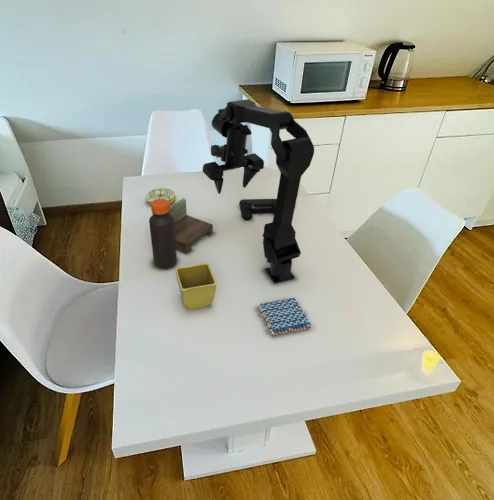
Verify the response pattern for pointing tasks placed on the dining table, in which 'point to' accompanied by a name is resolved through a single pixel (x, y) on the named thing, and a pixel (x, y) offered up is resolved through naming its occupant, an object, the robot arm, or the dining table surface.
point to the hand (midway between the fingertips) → (231, 190)
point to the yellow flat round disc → (161, 195)
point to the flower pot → (196, 285)
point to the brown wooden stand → (187, 227)
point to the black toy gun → (248, 203)
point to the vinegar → (162, 234)
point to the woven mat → (284, 316)
